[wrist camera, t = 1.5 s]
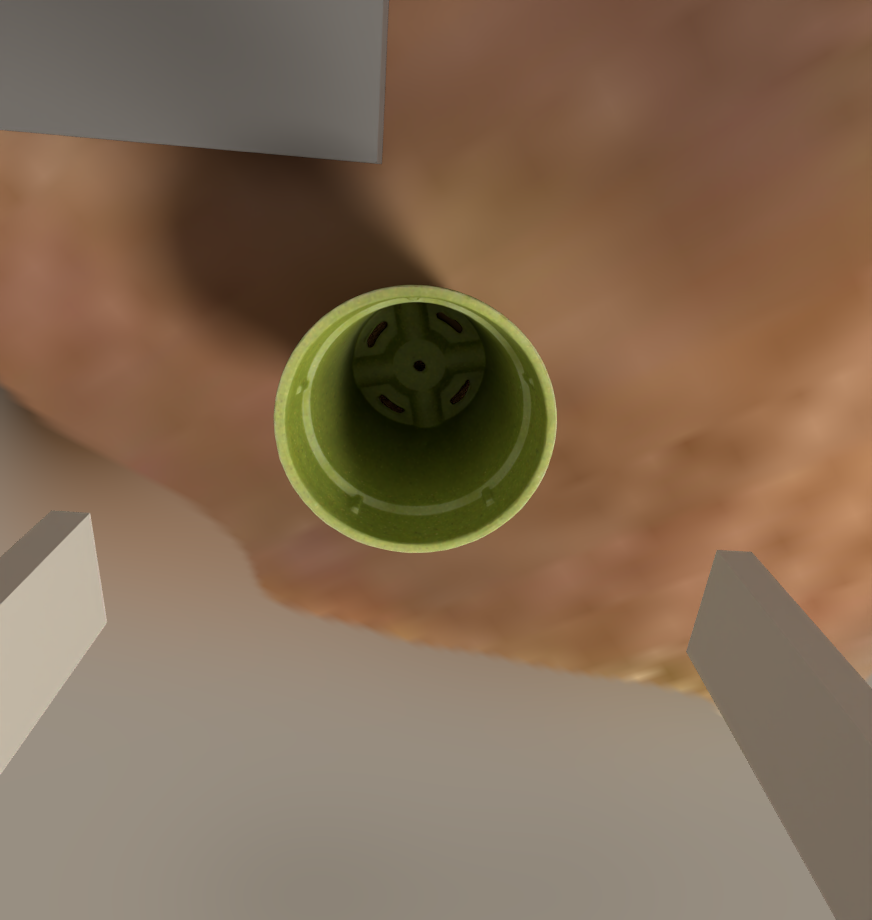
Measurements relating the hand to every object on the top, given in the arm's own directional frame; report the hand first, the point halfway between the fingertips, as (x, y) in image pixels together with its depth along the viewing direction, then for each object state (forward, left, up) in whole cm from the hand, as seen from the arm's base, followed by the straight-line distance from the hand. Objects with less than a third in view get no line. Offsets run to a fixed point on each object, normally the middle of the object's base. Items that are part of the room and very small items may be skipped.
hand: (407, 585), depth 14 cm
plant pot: (0, 0, -17) cm, 17 cm away
